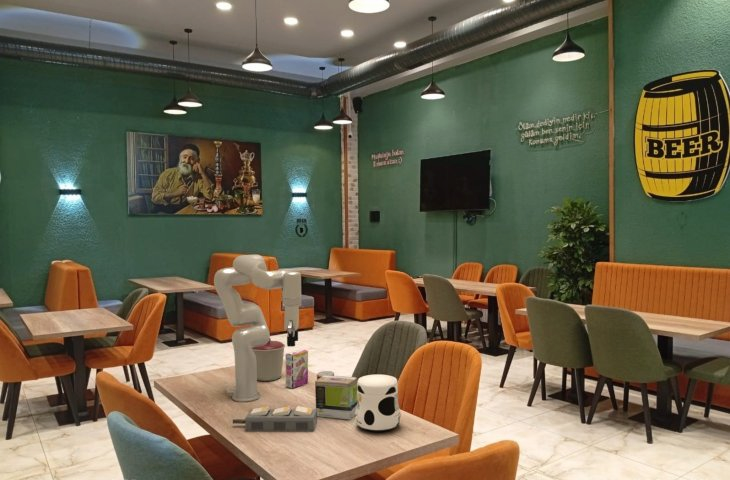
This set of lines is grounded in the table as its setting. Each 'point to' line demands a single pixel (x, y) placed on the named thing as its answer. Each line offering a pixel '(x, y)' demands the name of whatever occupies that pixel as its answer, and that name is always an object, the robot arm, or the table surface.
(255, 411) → the rocker
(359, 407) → the milk container
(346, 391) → the tea box
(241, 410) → the table surface
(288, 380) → the candy bar box
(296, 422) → the power strip
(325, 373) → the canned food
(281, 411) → the rocker
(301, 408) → the rocker
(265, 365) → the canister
